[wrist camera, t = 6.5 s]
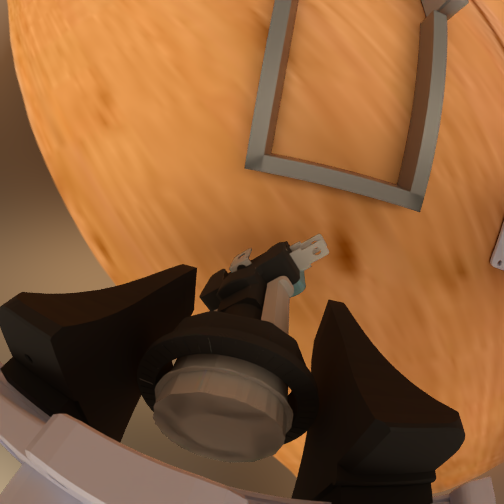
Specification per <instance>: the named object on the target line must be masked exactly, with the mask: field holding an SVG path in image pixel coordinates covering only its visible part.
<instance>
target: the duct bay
mask: <svg viewBox="0 0 504 504" xmlns="http://www.w3.org/2000/svg"><path fill="white" fill-rule="evenodd" d="M297 6H298V0H275V3H274V8H273V13H272V18H271V23H270V28H269V33H268V38H267V44H266V49H265V54H264V59H263V65H262V70H261V76H260V81H259V87H258V92H257V98H256V103H255V109H254V115H253V121H252V126H251V132H250V138H249V144H248V150H247V156H246V162H245V169H250V170H256V171H261V172H266V173H271V174H276V175H281V176H286V177H290V178H295V179H299V180H304V181H308V182H313V183H317V184H321V185H325V186H329V187H333V188H337V189H341V190H345V191H349V192H353V193H357V194H360V195H364V196H368V197H371V198H375V199H378V200H382V201H385V202H389V203H392V204H395V205H399V206H402V207H405V208H408V209H412V210H415V211H418V212H420V210H421V207H422V203H423V200H424V196H425V192H426V188H427V184H428V180H429V176H430V172H431V167H432V163H433V158H434V154H435V149H436V143H437V138H438V132H439V126H440V120H441V113H442V105H443V97H444V88H445V77H446V62H447V16H446V15H444V14H442V13H440V12H438V11H436V10H433V11H432V12H431V13H430V14H429V15H428V16H427V17H426V18H425V19H424V20H423V22H422V23H421V24H420V40H419V56H418V67H417V77H416V86H415V94H414V101H413V108H412V114H411V120H410V126H409V132H408V137H407V142H406V147H405V152H404V157H403V162H402V166H401V170H400V175H399V179H398V183H397V185H396V184H393V183H390V182H386V181H383V180H380V179H376V178H373V177H369V176H366V175H362V174H359V173H355V172H351V171H347V170H344V169H340V168H336V167H332V166H328V165H323V164H319V163H315V162H310V161H306V160H301V159H297V158H292V157H287V156H282V155H277V154H272V153H271V151H272V146H273V140H274V135H275V129H276V123H277V118H278V112H279V107H280V101H281V96H282V90H283V84H284V79H285V73H286V68H287V62H288V56H289V51H290V45H291V39H292V34H293V28H294V23H295V17H296V11H297Z"/></svg>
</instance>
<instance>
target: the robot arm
mask: <svg viewBox="0 0 504 504" xmlns="http://www.w3.org/2000/svg"><path fill="white" fill-rule="evenodd" d="M498 261H500V262H499V263H498ZM490 264H491V265H492V266H493V267H495V268H498V269H501V270H504V222H503V225H502V228H501V231H500V234H499V237H498V240H497V243H496V246H495V249H494V252H493V254H492V257H491V260H490ZM196 273H197V268H196V267H192V266H188V265H184V264H182V265H178V266H175V267H172V268H169V269H167V270H164V271H161V272H158V273H156V274H153V275H150V276H147V277H145V278H142V279H138V280H135V281H132V282H129V283H126V284H122V285H119V286H115V287H110V288H105V289H101V290H95V291H87V292H79V293H66V294H42V293H27V292H21V293H19V294H18V295H16V296H15V297H13V298H12V299H10V300H9V301H8V302H6V303H5V304H3V305H2V306H1V307H0V327H1V330H2V333H3V335H4V338H5V340H6V343H7V345H8V347H9V349H10V352H11V354H12V356H13V357H12V358H11V359H10V360H9V361H8V362H7V363H6V364H5V365H3V364H2V363H1V362H0V443H1V444H2V445H3V446H4V447H5V448H6V449H7V450H8V451H9V452H10V453H11V454H12V455H13V456H14V457H15V458H16V459H17V460H18V461H19V462H20V463H21V464H22V466H21V467H20V468H19V470H18V471H17V472H16V474H15V475H14V476H13V478H12V479H11V481H10V482H9V483H8V485H7V486H6V487H5V489H4V490H3V491H2V493H1V494H0V504H496V500H495V495H494V490H493V485H492V480H491V477H490V476H488V477H485V478H481V479H477V480H473V481H469V482H467V483H464V484H462V485H460V486H459V487H457V488H456V489H454V490H453V491H452V492H451V493H450V494H445V495H440V496H434V497H432V489H431V483H432V482H434V481H435V480H436V473H435V470H436V469H437V468H438V467H439V466H441V465H442V464H443V463H444V462H446V461H447V460H448V459H449V458H450V457H451V456H453V455H454V454H455V453H456V452H457V451H458V450H459V448H460V447H461V445H462V444H463V442H464V440H465V432H464V429H463V425H462V422H461V419H460V416H459V413H458V412H457V411H455V410H454V409H452V408H450V407H448V406H446V405H445V404H443V403H441V402H439V401H437V400H436V399H434V398H432V397H431V396H430V395H428V394H427V393H425V392H424V391H422V390H421V389H419V388H418V387H417V386H415V385H414V384H413V383H412V382H410V381H409V380H408V379H407V378H406V377H404V376H403V375H402V374H401V373H400V372H399V371H398V370H397V369H395V368H394V367H393V366H392V365H391V364H390V362H389V361H388V360H387V359H386V358H385V357H384V356H383V355H382V354H381V353H380V352H379V351H378V349H377V348H376V347H375V346H374V345H373V343H372V342H371V341H370V340H369V338H368V337H367V336H366V334H365V333H364V331H363V330H362V329H361V327H360V326H359V324H358V323H357V322H356V320H355V319H354V317H353V316H352V314H351V313H350V311H349V310H348V308H347V307H346V305H345V304H344V303H342V302H337V301H333V300H328V303H327V306H326V309H325V312H324V315H323V318H322V320H321V323H320V326H319V329H318V331H317V334H316V337H315V340H314V346H313V353H312V360H311V374H312V375H313V377H314V379H315V381H316V383H317V387H318V393H319V411H318V415H317V417H316V419H315V421H314V423H313V424H312V426H311V427H310V428H309V429H308V430H307V435H306V441H305V446H304V451H303V455H302V460H301V464H300V468H299V472H298V477H297V480H296V484H295V488H294V491H293V495H292V498H285V497H278V496H272V495H266V494H261V493H256V492H251V491H247V490H242V489H238V488H234V487H230V486H226V485H223V484H220V483H218V482H215V481H212V480H209V479H207V478H205V477H202V476H199V475H197V474H194V473H191V472H188V471H185V470H182V469H179V468H177V467H174V466H171V465H169V464H166V463H164V462H161V461H159V460H156V459H154V458H152V457H149V456H147V455H145V454H142V453H140V452H138V451H136V450H134V449H131V448H129V447H127V446H125V445H123V444H121V443H120V442H121V439H122V437H123V434H124V432H125V429H126V427H127V425H128V422H129V420H130V418H131V416H132V413H133V411H134V409H135V407H136V405H137V403H138V401H139V399H140V397H141V395H142V394H141V392H140V390H139V386H138V382H137V370H138V366H139V363H140V361H141V359H142V357H143V356H144V354H145V352H146V351H147V349H148V348H149V347H150V346H151V345H152V344H153V343H154V342H155V341H156V340H157V339H159V338H161V337H162V336H164V335H166V334H169V333H171V332H173V331H174V329H175V328H176V327H177V326H178V325H179V323H180V322H181V321H182V320H183V319H184V318H186V317H189V316H191V315H192V313H193V311H194V301H195V286H196Z"/></svg>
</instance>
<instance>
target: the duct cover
mask: <svg viewBox="0 0 504 504" xmlns="http://www.w3.org/2000/svg"><path fill="white" fill-rule="evenodd" d="M421 1H422V4H423V7H424V11H425V14H426V17H427V16H428V15H429V14H430V13H431V12H432V11H433V10H436V11H438V12H440V13H442V14H444V15H446V16H447V20H449V19H450V18H451V17H452V16H453V15H455V14H456V13H457V12H458V11H459V10H461V9H462V8H463V7H464V6H465V5H467V4H468V2H469V1H468V0H421Z"/></svg>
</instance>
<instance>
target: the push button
mask: <svg viewBox="0 0 504 504" xmlns="http://www.w3.org/2000/svg"><path fill="white" fill-rule="evenodd" d="M313 241H317V242H315V243H314V244H312V245H311V243H312V242H313ZM316 247H317V248H316ZM320 250H321V253H320V254H319V255H315V253H317V252H319V251H320ZM251 251H252V249H251V248H250V249H248V250H246V251H244V252H242V253H241V254H239V255H237V256H236V257H235V258H234V259H233V261H232V263H231V267H230V268H229V269H230V271H231V272H230V273H227V271H226V270H225V269H222V270H220V271H218V272H217V273H215V274H214V275H212V276H211V277H210V279H209V281H208V282H207V284H206V286H205V288H204V289H203V291H202V293H201V295H200V298H201V300H202V301H203V302H204V304H205V305H206V306H207V307H208V309H209V310H210V311H209V312H205V313H201V314H197V315H193V316H189V317H186V318H184V319H183V320H182V321H181V322H180V323H179V325H178V326H177V327H176V328H175V329H174V331H173V332H171V333H169V334H166V335H164V336H162V337H161V338H159V339H157V340H156V341H155V342H154V343H153V344H152V345H151V346H150V347H149V348H148V349H147V351H146V352H145V354H144V356H143V357H142V359H141V361H140V363H139V366H138V370H137V382H138V386H139V390H140V392H141V394H142V397H143V398H144V400H145V402H146V403H147V405H148V406H149V407H150V408H151V410H152V411H153V412H154V414H153V419H154V420H155V424H156V425H157V426H158V427H159V429H160V430H161V432H162V433H163V434H164V435H165V436H166V437H168V438H169V439H170V440H171V441H172V442H174V443H176V444H177V445H178V446H180V447H181V448H183V449H186V450H188V451H190V452H192V453H194V454H196V455H200V456H202V457H205V458H210V459H214V460H219V461H223V462H254V461H257V460H260V459H263V458H266V457H269V456H272V455H274V454H276V452H277V451H278V450H279V449H280V448H281V446H282V445H283V444H286V443H288V442H291V441H293V440H295V439H296V438H298V437H300V436H301V435H302V434H304V433H305V432H306V431H307V430H308V429H309V428H310V427H311V426H312V424H313V423H314V421H315V419H316V417H317V415H318V411H319V393H318V387H317V383H316V381H315V379H314V377H313V375H312V374H311V372H310V370H309V369H308V368H307V367H306V364H305V362H304V359H303V357H302V354H301V352H300V349H299V346H298V344H297V342H296V340H295V339H294V338H292V337H291V336H289V335H288V330H289V298H290V297H292V296H293V297H294V296H296V295H298V294H300V293H301V292H303V291H304V290H305V287H306V285H305V277H304V270H306V269H308V268H310V267H311V263H313V262H315V261H317V260H318V259H320V258H322V257H324V256H326V255H328V254H329V250H328V248H327V244H326V242H325V241H324V239H323V237H322V235H321V234H317V235H316V236H314V237H312V238H310V239H308V240H307V241H305V242H303V243H300V241H299V242H297V243H295V244H294V245H292V246H290V245H289V244H288V242H287V241H286V242H280V243H277V244H276V245H274V246H272V247H271V248H270V249H269V250H268V251H267V252H265V253H264V254H262V255H260V256H258V257H257V258H255V259H253V260H251V261H250V260H249V258H248V257H249V256H250V254H251ZM243 255H244V256H243ZM241 256H243V257H241ZM240 257H241V258H240ZM176 358H177V360H176V362H175V364H174V366H173V364H172V360H174V359H176ZM288 386H289V388H290V389H291V390H292V391H291V393H290V394H289V395H288Z"/></svg>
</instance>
